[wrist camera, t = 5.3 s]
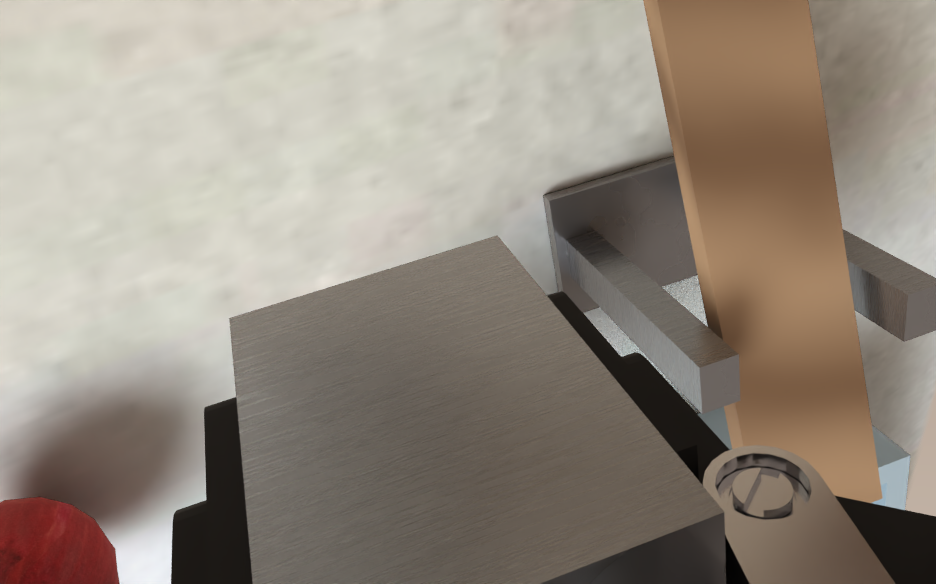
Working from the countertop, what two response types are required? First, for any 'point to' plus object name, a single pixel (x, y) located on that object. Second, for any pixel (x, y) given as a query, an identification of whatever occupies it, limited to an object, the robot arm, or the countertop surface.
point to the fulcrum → (672, 259)
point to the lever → (768, 227)
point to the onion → (53, 545)
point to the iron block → (454, 440)
